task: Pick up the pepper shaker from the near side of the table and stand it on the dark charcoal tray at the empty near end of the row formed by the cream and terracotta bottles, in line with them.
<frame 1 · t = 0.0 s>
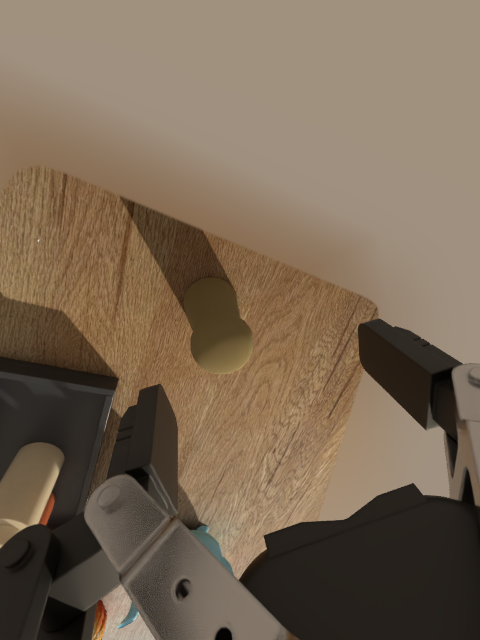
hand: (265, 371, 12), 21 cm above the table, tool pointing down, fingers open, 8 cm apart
pepper shaker: (210, 302, 33), on the table
cream bottle: (40, 458, 36), point 1 cm above the table, touching tray
teapot: (185, 538, 49), on the table
fruit: (77, 608, 51), on the table
tray: (43, 452, 36), on the table
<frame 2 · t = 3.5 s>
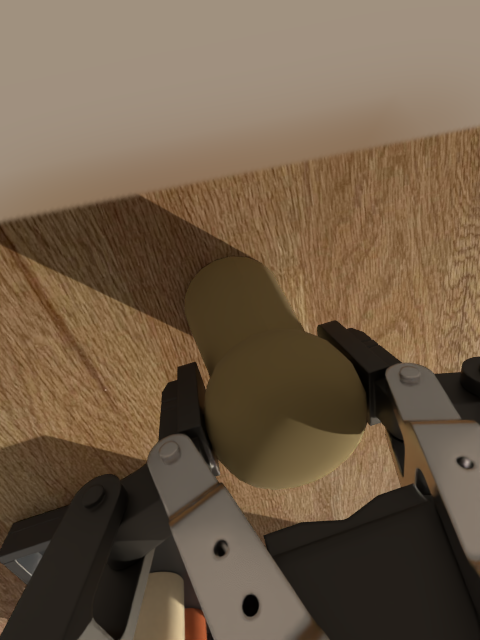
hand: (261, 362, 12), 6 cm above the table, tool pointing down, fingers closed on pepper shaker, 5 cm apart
pepper shaker: (233, 304, 18), on the table, touching gripper
cream bottle: (155, 587, 27), point 1 cm above the table, touching tray
terracotta bottle: (180, 621, 30), point 1 cm above the table, touching tray
tray: (156, 577, 28), on the table
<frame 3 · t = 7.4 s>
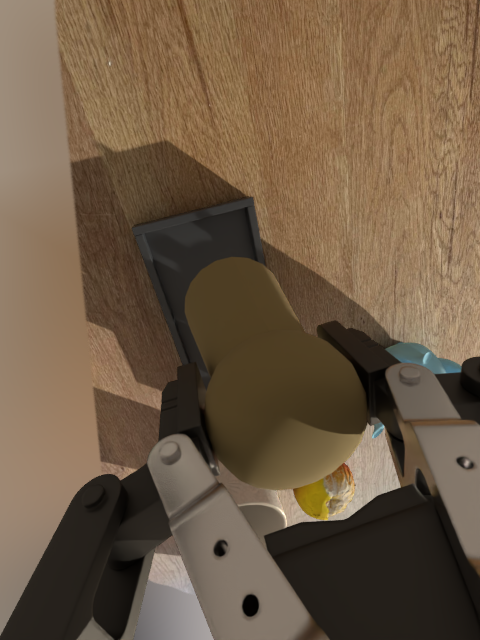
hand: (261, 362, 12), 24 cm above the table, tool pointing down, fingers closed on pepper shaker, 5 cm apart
pepper shaker: (234, 304, 18), point 17 cm above the table, touching gripper
planter: (229, 463, 49), on the table
teapot: (385, 364, 46), on the table
fruit: (318, 472, 54), on the table
tray: (221, 315, 37), on the table
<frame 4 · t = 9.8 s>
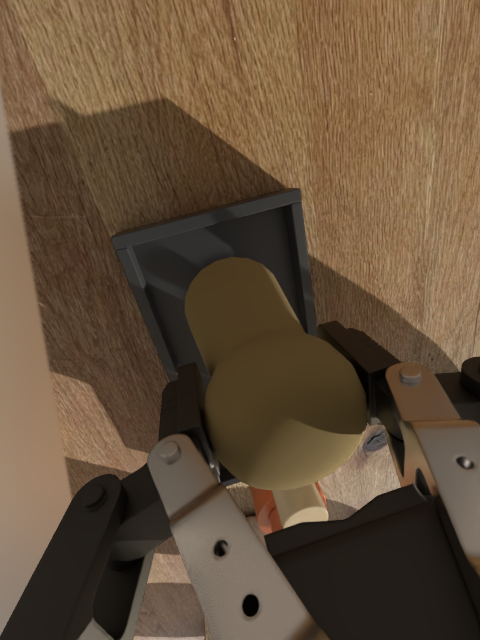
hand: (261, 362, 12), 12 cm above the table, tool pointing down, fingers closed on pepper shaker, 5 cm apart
pepper shaker: (234, 305, 18), point 6 cm above the table, touching gripper
planter: (247, 534, 38), on the table
cream bottle: (245, 361, 26), point 1 cm above the table, touching tray
terracotta bottle: (261, 423, 29), point 1 cm above the table, touching tray
tray: (243, 357, 26), on the table
when the fingers open (7 cm above the table, at t = 11.5 s): pepper shaker stays where it is, resting on tray.
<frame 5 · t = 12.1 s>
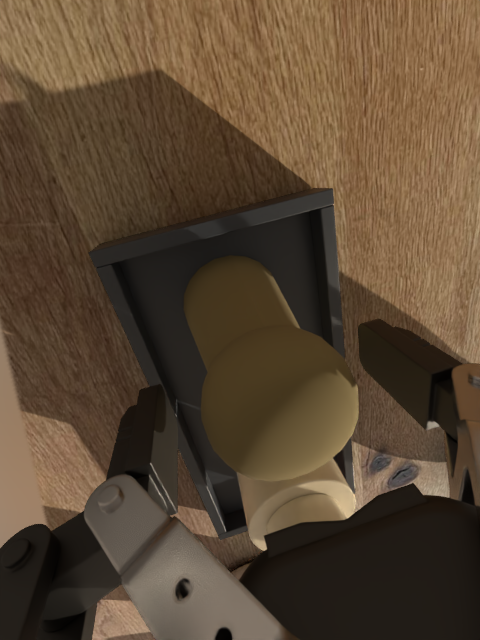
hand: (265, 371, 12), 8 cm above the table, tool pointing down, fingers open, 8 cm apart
pepper shaker: (232, 302, 18), point 1 cm above the table, touching tray
cream bottle: (257, 395, 22), point 1 cm above the table, touching tray
tray: (254, 388, 22), on the table
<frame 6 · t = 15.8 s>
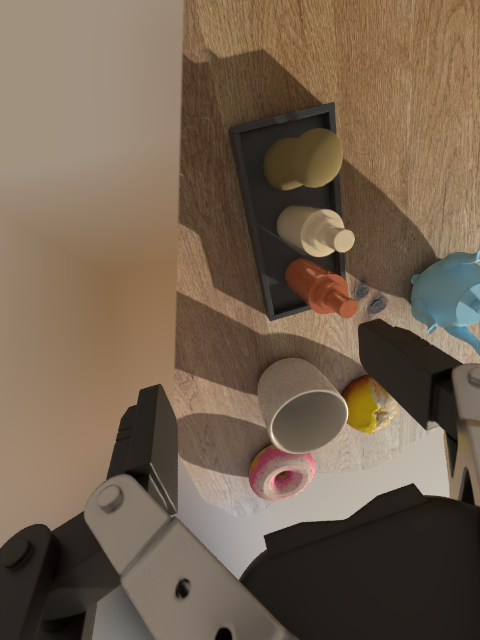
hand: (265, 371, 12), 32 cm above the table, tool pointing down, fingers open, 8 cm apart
pepper shaker: (285, 165, 38), point 1 cm above the table, touching tray
planter: (284, 379, 53), on the table
cream bottle: (294, 224, 41), point 1 cm above the table, touching tray
teapot: (429, 284, 51), on the table
donut: (277, 460, 62), on the table
terracotta bottle: (301, 275, 44), point 1 cm above the table, touching tray
fruit: (362, 394, 58), on the table
tray: (292, 223, 42), on the table
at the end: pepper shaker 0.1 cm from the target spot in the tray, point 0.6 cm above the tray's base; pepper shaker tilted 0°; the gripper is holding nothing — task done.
